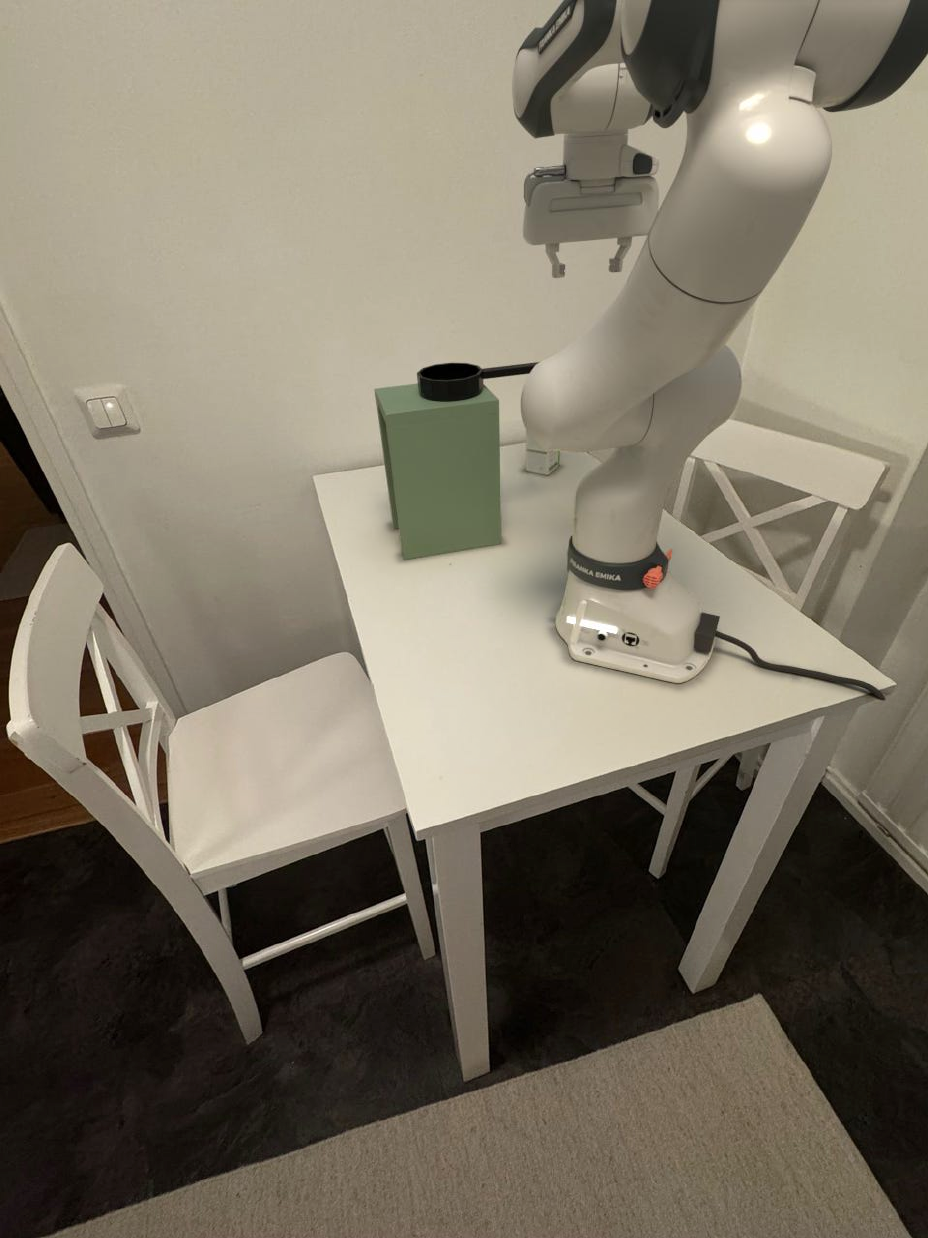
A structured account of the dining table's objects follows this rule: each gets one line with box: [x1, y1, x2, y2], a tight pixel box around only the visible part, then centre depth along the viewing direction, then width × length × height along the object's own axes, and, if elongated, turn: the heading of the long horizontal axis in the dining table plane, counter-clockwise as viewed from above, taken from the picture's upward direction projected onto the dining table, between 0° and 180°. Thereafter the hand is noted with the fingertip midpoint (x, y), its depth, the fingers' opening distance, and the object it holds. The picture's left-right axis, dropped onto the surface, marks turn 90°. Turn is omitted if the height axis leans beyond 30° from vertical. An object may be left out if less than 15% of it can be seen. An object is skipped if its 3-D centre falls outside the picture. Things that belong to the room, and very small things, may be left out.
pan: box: [416, 361, 540, 402], centre depth 99 cm, size 26×10×3 cm, turn 104°
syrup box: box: [525, 429, 561, 476], centre depth 132 cm, size 6×6×14 cm
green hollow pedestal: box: [373, 382, 502, 561], centre depth 107 cm, size 18×14×26 cm
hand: (586, 274), depth 94 cm, fingers open, 8 cm apart
